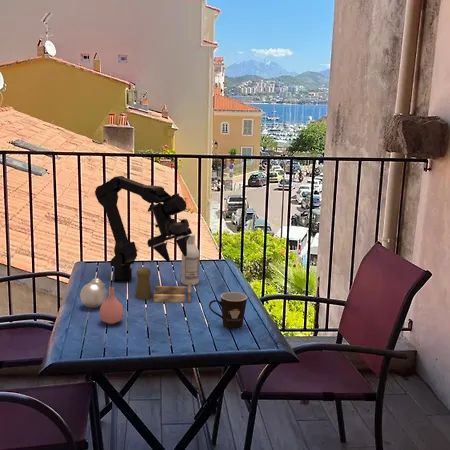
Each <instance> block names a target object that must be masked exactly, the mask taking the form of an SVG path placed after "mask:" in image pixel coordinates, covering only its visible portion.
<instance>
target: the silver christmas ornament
mask: <svg viewBox="0 0 450 450" xmlns="http://www.w3.org/2000/svg"><path fill="white" fill-rule="evenodd" d="M105 287H106V284H105V283H104V282H103V281H102V280H101V279H100V278H98V277H97V278H93V279H91V281H90V282H89V283H86V284H85V285H84V286H83V287H82V289H81V290H80V292H79V293H80V301H81V303H82V304H83V305H84V306H86V307H87V308H90V309H94V308H95V309H96V308H100V307H101V305H102V304H103V303H104V302H105V301H106V300H107V294H108V292H107V289H106V288H105Z"/></svg>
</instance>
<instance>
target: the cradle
mask: <svg viewBox="0 0 450 450" xmlns="http://www.w3.org/2000/svg"><path fill="white" fill-rule="evenodd" d="M186 286H188V287H186ZM186 289H188V290H187V291H186ZM186 292H187V303H188V304H190V303H192V285H191V283H189V284H188V285H184V286H178V285H177V286H175V285H173V286H171V285H155V290H154V291H153V295H152V300H153V303H186Z"/></svg>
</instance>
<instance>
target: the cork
mask: <svg viewBox="0 0 450 450" xmlns="http://www.w3.org/2000/svg"><path fill="white" fill-rule="evenodd" d="M151 274H152V272H151V269H150V268H148V267H146V266H145V267H139V268H137V270H136V276H137V279H136V280H137V282H136V289H135V294H134V295H135V296H134V298H135V299H137V300H142V301H143V300H150V299H151V298H153V295H152V289H151V282H150V276H151Z"/></svg>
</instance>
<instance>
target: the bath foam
mask: <svg viewBox="0 0 450 450" xmlns="http://www.w3.org/2000/svg"><path fill="white" fill-rule="evenodd" d="M189 235H190V237H189V238H188V240H187V256H184V255H183V254H182V253H181V271H180V272H181V278H180V279H181V280H180V281H181V284H182V285H184V286H188V284H189V283H191V286H195V285H198V284H199V277H200V251H199V249H198V247H197V244H195V242H196V238H195V237H196V234H194V233H192V234H189ZM189 235H188V236H189Z"/></svg>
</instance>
